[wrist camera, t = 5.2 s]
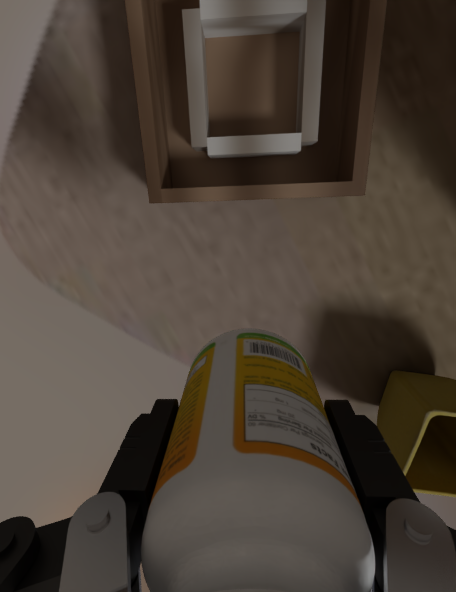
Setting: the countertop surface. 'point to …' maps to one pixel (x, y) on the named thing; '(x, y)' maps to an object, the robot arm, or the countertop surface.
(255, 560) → the supplement bottle
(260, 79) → the walled box
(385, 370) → the countertop surface
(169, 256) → the countertop surface
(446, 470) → the flower pot
